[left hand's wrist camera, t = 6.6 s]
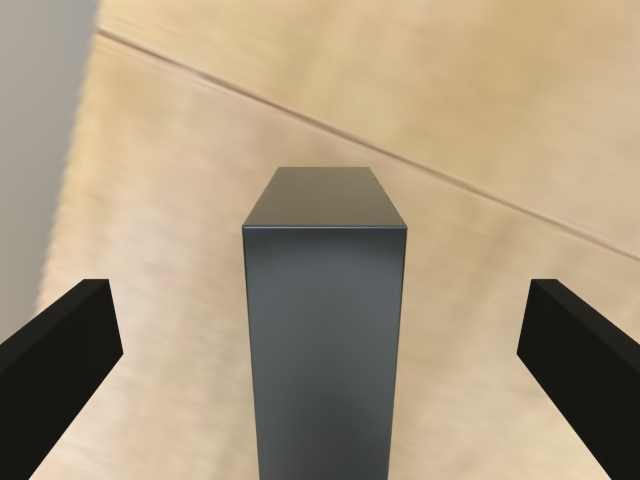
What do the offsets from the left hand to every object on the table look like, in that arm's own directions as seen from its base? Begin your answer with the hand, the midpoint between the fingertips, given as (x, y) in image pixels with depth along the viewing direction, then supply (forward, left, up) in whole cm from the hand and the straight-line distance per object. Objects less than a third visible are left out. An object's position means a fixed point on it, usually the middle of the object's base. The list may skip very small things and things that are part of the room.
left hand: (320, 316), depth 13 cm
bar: (+7, +12, -9) cm, 16 cm away
